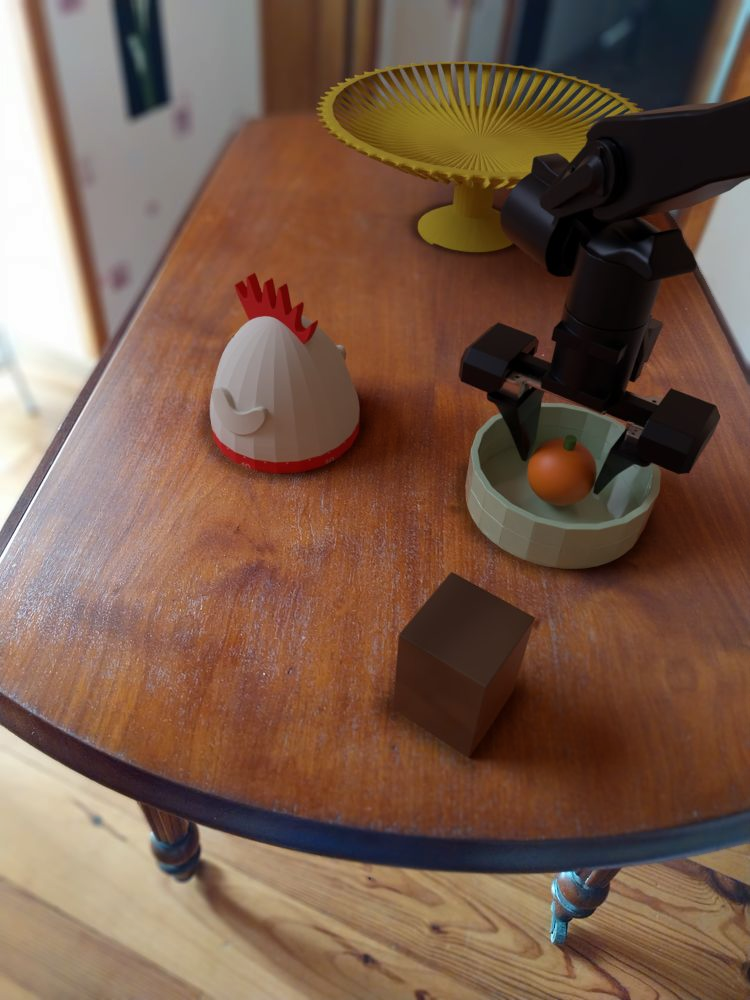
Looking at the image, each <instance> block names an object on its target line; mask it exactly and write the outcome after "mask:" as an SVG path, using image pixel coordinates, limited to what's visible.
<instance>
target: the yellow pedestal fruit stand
mask: <svg viewBox="0 0 750 1000" xmlns="http://www.w3.org/2000/svg"><path fill="white" fill-rule="evenodd" d="M439 65H440V67H441V69H442V72H443V73H442V74H443V76H444V80H445V84H446V88H447V93H448V98H449V102H448V99H447V97H446V95H445V92H444V89H443V85H442V82H441V78H440V72H439V67H438V66H439ZM452 65H454V67H455V72H456V79H457V85H458V86H457V87H458V96H459V103H458V100H457V97H456V93H455V89H454V88H455V87H454V83H453V75H452ZM465 65H467V67H468V74H469V104H468V102H467V95H466V85H465V84H466V83H465ZM479 65H481V69H482V70H481V72H482V73H481V75H482V76H481V90H480V97H479V98H480V99H479V103H477V81H478V69H479ZM425 66H427V67H428V70H429V72H430V74H431V77H432V79H433V83H434V86H435V89H436V93H437V95H438V99H439V100H438V99H437V97H436V95H435V93H434V91H433V89H432V87H431V83H430V80H429V78H428V73H427V72H426V68H425ZM493 66H495V72H494V75H495V76H494V81H493V87H492V91H491V97H490V101H489V104H488V93H489V92H488V91H489V84H490V78H491V77H490V76H491V73H492V68H493ZM413 67H414V68H415V70H416V72H417V74H418V76H419V78H420V80H421V82H422V84H423V87H424V89H425V92H426V94H427V97H428V99H429V100H428V99H427V98H426V96H425V94H424V92H423V90H422V88H421V87H420V85H419V83H418V80H417V78H416V76H415V73H414V70H413ZM507 68H509V71H508V75H507V78H506V79H507V80H506V83H505V87H504V91H503V93H502V97H501V100H500V102H499V105H498V98H499V94H500V90H501V89H500V88H501V85H502V81H503V77H504V74H505V71H506V69H507ZM400 69H402V71H403V72H404V73H405V75H406V76H407V78H408V80H409V82H410V83H411V85H412V88H413V89H414V91H415V93H416V95H417V97H418V98H416V96H415V95H414V93H413V92H412V90H411V89H410V87H409V85H408V84H407V82H406V80H405V78H404V76H403V74H402V72H401V70H400ZM521 69H523V70H522V75H521V77H520V80H519V83H518V85H517V88H516V91H515V93H514V96H513V98H512V100H511V103H510V104H509V105H508V101H509V98H510V96H511V93H512V89H513V86H514V83H515V81H516V78H517V75H518V74H519V71H520V70H521ZM389 71H390V72H391V73H392V74H393V76H394V77H395V79H396V80H397V82H398V83H399V85H400V86H401V87H402V90H403V91H404V93H405V94H406V96H407V98H408V99H409V100H408V99H407V98H406V96H405V95H404V94H403V93H402V92H401V90H400V89H399V88H398V86H397V84H396V83H395V81H394V80H393V78H392V76H391V74H390V72H389ZM534 71H535V72H536V73H535V76H534V78H533V81H532V83H531V85H530V86H529V88H528V91H527V92H526V95H525V97H524V99H523V101H522V102H521V104H520V105H519V106H518V104H519V102H520V98H521V96H522V94H523V92H524V89H525V87H526V85H527V83H528V82H529V79H530V78H531V76H532V74H533V72H534ZM378 74H380V75H381V76H382V77H383V79H384V80H385V82H386V83H387V84H388V85H389V87H390V89H391V90H392V91H393V93H395V95H396V96H397V98H398V99H399V100H398V99H397V98H396V97H395V95H393V94H392V92H390V90H389V89H388V88H387V87H386V85H385V84H384V83H383V81H382V80H381V78H380V76H379V75H378ZM547 74H549V75H548V78H547V80H546V82H545V84H544V86H543V87H542V88H541V90H540V92H539V94H538V95H537V97H536V98H535V100H534V101H533V103H532V104H531V105H530V106H529V104H530V102H531V100H532V97H533V96H534V95H535V92H536V91H537V89H538V87H539V86H540V84H541V83H542V81H543V79H544V78H545V77H546V75H547ZM368 77H370V79H371V80H372V81H373V82H374V83H375V84H376V85H377V87H378V88H379V89H380V90H381V91H382V93H383V94H384V95H385V96H386V97H387V99H388V100H389V101H388V100H387V99H386V98H385V96H384V95H382V94H381V93H380V92H379V91H378V90H377V88H376V87H375V85H373V83H372V82H371V80H370V79H369V78H368ZM560 77H561V80H560V81H559V83H558V84H557V86H556V88H555V89H554V90H553V91H552V93H551V95H550V96H549V97H548V98H547V100H546V101H545V102H544V103H543V104H542V105H541V106H540V104H541V103H542V101H543V99H544V98H545V97H546V95H547V93H548V92H549V91H550V89H551V88H552V86H553V85H554V84H555V83H556V81H557V80H558V79H559V78H560ZM577 77H578V76H571V75H570V76H568V75H565V73H564V72H562V73H558V72H553V71H552V70H551V69H550V70H543V69H539V68H538V67H527V66H524V65H512V64H509V63H505V64H501V63H496V62H495V61H494V62H490V63H489V62H482V61H478V62H472V61H468V60H465V61H454V60H451V61H439V60H438V61H437V62H427V61H424V62H423V63H415V62H411V63H410V64H398V66H387V65H386V67H385V68H383V69H382V68H381V69H378V68H374V71H363V74H354V77H353V78H344V80H345V81H344V82H337V85H338V86H330V87H329V89H330V90H331V91H324V94H325V96H320V97H319V98H320V99H321V100H322V101H319V102H317V104H318V105H319V106H320V107H316V108H315V109H316V110H317V111H318V112H320V113H316V115H317V116H318V117H319V119H317V121H318V122H320V123H321V124H324V125H321V127H322V128H323V129H325V130H327V132H326V133H327V134H329V135H331V136H333V137H335V138H334V140H336V141H338V142H340V143H343V145H342V146H345V147H347V148H349V149H351V150H353V151H355V152H356V153H359V154H361V155H363V156H366V157H367V158H370V159H372V160H374V161H376V162H379V163H381V164H384V165H386V166H388V167H390V168H393V169H396V170H398V171H401V172H403V173H405V174H409V175H412V176H413V177H418V178H420V179H423V180H425V181H426V180H430V181H432V182H434V183H438V182H440V183H442V184H444V185H446V186H447V185H450V183H452V184H453V185H454V190H453V201H452V204H448V205H445V206H442V207H438V208H435V209H431V210H430V211H427V212H426V213H425V214H424V215H423V216H421V217H420V219H419V220H418V222H417V231H418V234H419V236H421V238H422V239H423V240H424V241H425V242H427V243H428V244H430V245H433V244H435V245H438V246H441V247H443V248H445V249H449V250H453V251H460V252H467V253H468V252H469V253H486V252H494V251H498V250H499V251H500V250H502V249H506V248H508V247H510V246H511V245H513V244H514V243H513V242H512V241H510V240H509V239H508V238H507V237H506V236H505V234H504V233H503V231H502V228H501V223H500V214H501V210H500V211H499V210H497V209H495V208H494V207H493V201H494V194H495V190H497V189H500V188H504V190H509V189H513V188H514V187H515V186H516V184H517V183H518V182H519V181H520V180H521V179H523V178H524V177H525V176H526V175H528V174H529V173H531V169H532V163H533V158H534V157H536V156H542V155H548V154H554V153H558V154H560V155H561V156H563V157H565V158H566V159H567V160H568V161H569V163H570V162H571V161H572V160H573V159H574V158H575V156H576V155H577V154H578V153H579V152H580V151H581V149H582V148H583V147H584V146H585V144H586V142H587V138H586V134H587V132H588V130H589V129H590V128H591V126H592V125H593V124H594V123H595V122H597V121H598V120H596V119H598V118H599V117H601V116H602V115H604V114H606V113H607V112H608V111H610V110H612V109H613V108H615V107H617V106H618V105H620V104H622V105H620V106H618V107H617V108H616V109H614V110H612V111H611V112H610V113H608V114H607V115H605V116H604V117H609V116H616V115H619V114H620V113H622V112H623V111H626V110H627V109H629V110H628V111H626V112H624V114H629V113H636V112H643V111H645V109H643V108H638V107H637V106H638V103H636V102H631V101H629V100H630V98H629V97H628V98H627V97H623V96H621V94H622V93H619V92H613V91H611V89H612V88H607V87H606V88H605V87H601V84H600V83H591V82H589V80H588V79H587V80H586V79H579V78H577ZM359 80H360V81H361V82H362V83H363V84H364V85H365V86H366V87H367V88H368V89H369V90H370V91H371V92H372V93H373V94H374V96H375V97H377V99H379V101H380V102H379V101H378V100H376V99H375V98H374V97H373V96H372V95H371V94H370V93H369V92H368V90H366V89H365V87H363V85H362V84H361V82H360V81H359ZM571 81H573V83H572V85H571V86H570V87H569V89H568V90H567V91H566V92H565V94H564V95H563V96H562V97H561V98H560V99H559V101H558V102H557V103H556V104H554V106H552V104H553V103H554V101H555V100H556V99H557V98H558V97H559V95H560V94H561V93H562V91H563V90H564V89H565V88H566V87H567V86H568V85H569V83H570V82H571ZM584 84H585V86H584V87H583V88H582V89H581V91H579V93H578V94H577V95H576V96H574V98H573V99H572V100H571V101H570V102H569V103H568V104H567V105H566V106H564V107H563V108H562V109H561V110H560V108H561V107H562V106H563V105H564V104H565V103H566V102H567V101H568V100H569V98H571V96H572V95H573V94H574V93H575V92H577V90H578V89H579V88H580V87H581V86H583V85H584ZM351 85H352V86H353V87H355V88H356V89H357V90H358V91H359V92H360V93H361V94H362V95H363V96H364V97H366V98H367V99H368V101H367V100H366V99H365V98H363V97H362V96H361V94H359V93H358V92H357V91H356V90H355V89H354V88H353V87H352V86H351ZM344 89H345V90H346V91H348V92H349V93H350V94H351V95H353V96H354V97H355V98H356V99H357V100H358V101H359V102H361V103H362V104H363V105H364V106H365V107H364V106H363V105H362V104H360V103H358V101H356V100H355V99H354V98H353V97H352V96H351V95H350V94H348V93H347V92H346V91H345V90H344ZM594 89H596V90H595V91H594V92H593V93H592V94H591V95H590V96H589V97H588V98H587V99H586V100H585V101H584V102H582V103H581V104H580V105H579V106H578V107H577V108H575V109H574V110H572V111H571V112H570V110H571V109H573V108H574V107H575V106H576V105H577V104H579V102H580V101H581V100H582V99H583V98H585V96H586V95H588V94H589V93H590V92H592V90H594ZM604 93H606V94H605V95H603V94H604ZM601 95H603V97H602V98H601V99H599V101H597V102H596V103H595V104H594V105H592V106H591V107H590V108H588V109H587V110H586V111H584V112H583V113H581V114H579V113H580V112H582V111H583V110H584V109H585V108H586V107H588V106H589V105H590V104H591V103H592V102H594V101H595V100H596V99H598V98H599V97H601ZM341 96H342V97H344V99H346V100H347V101H346V100H344V99H343V98H342V97H341ZM613 98H615V99H614V100H613V101H611V100H612V99H613ZM418 99H419V100H418ZM335 100H337V101H338V102H339V103H341V104H342V105H344V106H345V107H346V108H348V109H349V110H350V111H352V112H353V113H352V112H350V111H349V110H347V109H346V108H345V107H343V106H342V105H341V104H339V103H338V102H337V101H335ZM348 101H349V102H350V103H351V104H352V105H353V106H352V105H351V104H350V103H348ZM399 101H400V102H399ZM608 101H611V102H610V103H608V105H607V106H605V107H604V108H602V109H601V110H600V111H598V112H597V113H595V114H594V115H592V116H590V117H588V116H589V115H591V114H592V113H594V112H595V111H597V109H599V108H601V106H603V105H604V104H606V103H607V102H608ZM369 102H371V103H372V104H373V105H372V104H371V103H369ZM497 106H498V107H497ZM507 106H508V107H507ZM528 106H529V107H528ZM539 106H540V107H539ZM550 106H552V107H551V108H550ZM335 107H336V108H337V109H336V108H335ZM355 107H356V108H357V109H356V108H355ZM517 107H518V108H517ZM527 107H528V108H527ZM549 108H550V109H549ZM338 109H339V110H338ZM548 109H549V110H548ZM568 112H569V113H568ZM334 113H335V114H336V115H335V114H334ZM567 113H568V114H567ZM345 114H346V115H345ZM566 114H567V115H566ZM578 114H579V115H578ZM577 115H578V116H577ZM339 116H340V117H339ZM348 116H349V117H348ZM587 117H588V118H587ZM320 118H321V119H320ZM344 119H345V120H344Z"/></svg>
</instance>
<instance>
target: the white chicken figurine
mask: <svg viewBox="0 0 750 1000" xmlns="http://www.w3.org/2000/svg"><path fill="white" fill-rule="evenodd" d="M245 280H246V283H245V282H244V281H243V280H240V281H238V282H237V283H235V284H234V288H235V292H236V295H237V297H238V299H239V301H240V303H241V306H242V308H243V310H244V312H245V314H246V317H247V318H248V321H247V322H245V323H244V324H243V325H242V326H241V327H240V328H239V330H238V331H237V332H236V333H235V334H233V335H232V336H231V339H230V341H229V342H228V343H227V345H226V347H225V349H224V351H223V352H222V354H221V356H220V359H219V363H218V366H217V369H216V372H215V377H214V381H213V386H212V391H211V394H210V401H209V418H210V422H211V423H210V425H211V431H212V435H213V436H212V437H213V442H215V444H216V445H217V447H218V448H219V450H220V451H221V453H222V454H223V455H224V456H226V457H227V458H229V460H231V461H232V462H234V463H235V464H238V465H240V466H243V467H245V468H248V469H250V470H254V471H257V472H264V473H270V474H292V473H295V474H297V473H302V472H306V471H310V470H315V469H317V468H321V467H323V466H325V465H327V464H329V463H331V462H333V461H336V460H337V459H339V458H340V457H341V456H342V455H343V454H344V453H346V452H347V451H348V450H349V449H350V448H351V447H352V446H353V444H354V442H355V440H356V439H357V437H358V435H359V430H360V417H361V416H360V414H361V413H360V412H361V411H360V410H361V409H360V401H359V397H358V392H357V390H356V386H355V384H354V381H353V379H352V376H351V373H350V371H349V368H348V366H347V364H346V359H347V350H346V348H345V347H344V345H342V344H336V343H335V341H333V340H332V338H331V337H330V336H329V335H328V334H327V333H326V332H325V331H324V330H323V329H322V328H321V327H320V326H319V325H318V324H319V320H318V319H316V320H315V321H313V320H311V319H309V318H307V317H306V316H304V315H303V313H304V307H305V303H304V301H301V302H299V303H297V304H296V305H294V306H293V307H292V302H291V296H290V291H289V287H288V283H287V282H285V283H283V284H282V285H280V286H279V287H278V288H277V292H276V287H275V281H274V278H273V277H270V278H269V279H267V280H266V281H264V283H263V286H262V288H261V285H260V282H259V279H258V277H257V274H256V273H255V272H253V273H251V274H249V275H247V276H246V279H245Z"/></svg>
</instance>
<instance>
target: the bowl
mask: <svg viewBox="0 0 750 1000" xmlns="http://www.w3.org/2000/svg"><path fill="white" fill-rule="evenodd" d="M625 427H626V425H624V424H623V423H622V422H620V421H619V420H618V419H615V418H613V417H612V416H608V415H607V414H605V415H600V414H598V413H595V412H593V411H590V410H588V409H586V408H583V407H581V406H578V405H575V404H569V403H562V402H541V409H540V415H539V422H538V429H537V435H536V441H535V445H534V448H533V451H532V455H533V453H534V452H535V451H536V450H537V449H538V448H539V447H540V446H541V445H542V444H544V443H546V442H548V441H550V440H554V439H560V438H566V436H567V435H573V436H575V437H576V438H577V442H579V443H581V444H582V445H584V446H585V447H586V448H587V449H588V450H589V451H590V452H591V454H592V455H593V457H594V459H595V462H596V467H597V477H598V475H599V473H600V471H601V469H602V466H603V464H604V462H605V460H606V458H607V455H608V453H609V451H610V449H611V448H612V446H613V445H614V444H615V442H616V441H617V440H618V438H619V437H620V436H621V434H622V433H623V432H624V430H625ZM472 442H473V443H472V445H471V448H470V452H469V460H468V465H467V473H466V478H465V485H464V489H465V490H464V491H465V503H466V507H467V510H468V512H469V514H470V517H471V519H472V520H473V522H474V523H475V525H476V526H477V528H478V529H479V530H480V531H481V532H482V533H483V535H484V536H486V538H488V539H489V540H490V541H491V542H492V543H493V544H495V546H498V547H499V548H500V549H502V550H503V551H505V552H507V553H508V554H511V555H513V556H514V557H516V558H519V559H521V560H523V561H527V562H528V563H529V562H530V563H532V564H536V565H540V566H543V567H548V568H553V569H554V568H556V569H565V570H566V569H569V570H577V569H588V568H594V567H598V566H601V565H606V564H608V563H611V562H613V561H615V560H617V559H618V558H620V557H622V556H624V555H625V554H627V552H629V550H631V549H632V548H633V547H634V546H635V544H636V543H637V542H638V541H639V538H640V536H641V534H642V533H643V532H644V530H645V528H646V525H647V523H648V520H649V518H650V515H651V513H652V510H653V508H654V506H655V503H656V501H657V499H658V496H659V494H660V492H661V491H660V490H661V477H662V476H661V475H662V472H661V469H660V466H658V465H655V464H653V463H651V465H650V466H648V467H640V466H638V465H635V464H634V465H632V466H630V467H629V468H627V469H626V470H624V471H623V472H621V473H619V474H618V475H617V476H615V477H614V478H613V479H612V480H611V481H610V482H609V483H608V485H607V486H606V487H605V488H604V489H603V490H602V491H601V492H600V493H599V494H598V495H597V494H594V493H593V490H594V486H593V488H592V490H591V491H590V493H589V494H588V495H587V496H586V497H585V498H584V499H582V500H581V501H579V502H577V503H575V504H572V505H567V506H556V505H552V504H549V503H547V502H545V501H543V500H542V499H540V498H539V497H538V496H537V495H536V494H535V493H534V491H533V490H532V488H531V486H530V484H529V481H528V476H527V469H528V464H529V461H530V458H531V456H532V455H531V456H530V458H529V459H528V460H527V461H526V462H525V461H522V460H521V457H520V455H519V453H518V450H517V448H516V445H515V443H514V440H513V438H512V435H511V433H510V431H509V428H508V427H507V425H506V423H505V421H504V419H503V417H502V416H501V414H500V412H499V413H497V414H495V415H493V416H491V417H490V418H489V419H488V420H487V421H486V422H485V423H484V424H483V425H482V426H481V427H480V428H479V429H478V431H477V432H476V434H475V436H474V439H473V441H472ZM597 477H596V479H597ZM595 482H596V481H595Z"/></svg>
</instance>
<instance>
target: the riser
mask: <svg viewBox="0 0 750 1000" xmlns="http://www.w3.org/2000/svg"><path fill="white" fill-rule="evenodd" d="M535 620H536V617H535V616H533V615H531V614H530V613H528V612H527V611H525V610H522V609H521V608H519V607H517V606H515V605H513V604H511V603H509V602H508V601H506V600H504V599H502V598H500V597H499V596H497V595H496V594H493V593H491V592H490V591H488V590H486V589H484V588H482V587H481V586H479V585H477V584H476V583H473V582H471V581H469V580H468V579H466V578H464V577H462V576H461V575H459V574H457V573H455V572H453V571H450V572H449V574H448V575H447V576H446V577H445V578H444V579H443V580H442V582H441V583H440V584H439V586H438V587H437V588H436V589H435V590H434V591H433V593H432V594H431V595H430V596H429V598H428V599H427V600H426V601H425V603H424V604H423V605H422V606H421V607H420V608H419V609H418V611H417V612H416V613H415V614H414V615H413V617H412V618H411V619H410V620H409V621H408V622H407V624H406V625H405V626H404V627H403V629H402V630H401V631H400V632H399V633H398V638H397V639H398V641H397V653H396V662H395V663H396V664H395V675H394V676H395V677H394V688H393V699H392V709H393V710H394V711H396V712H398V713H399V715H400V714H401V715H402V716H403V717H405V718H407V719H408V720H409V721H411V722H412V723H414V724H415V725H417V726H419V727H420V728H422V729H423V730H425V732H426V731H427V732H428V733H429V734H431V735H432V736H434V737H435V738H437V739H439V740H440V741H442V742H443V743H445V744H446V745H448V746H449V747H451V748H452V749H454V750H455V751H457V752H458V753H460V754H462V755H463V756H464V757H466V758H468V759H469V758H471V756H472V755H473V753H474V752H475V750H476V749H477V747H478V746H479V744H480V743H481V741H482V740H483V738H484V737H485V735H486V734H487V732H488V731H489V729H490V727H491V726H492V724H493V723H494V721H495V720H496V719H497V717H498V715H499V714H500V712H501V711H502V709H503V708H504V706H505V705H506V704H507V702H508V700H509V699H510V697H511V696H512V694H513V693H514V690H515V686H516V684H517V680H518V676H519V673H520V670H521V667H522V663H523V660H524V656H525V654H526V650H527V647H528V643H529V640H530V637H531V634H532V630H533V627H534V624H535Z"/></svg>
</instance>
